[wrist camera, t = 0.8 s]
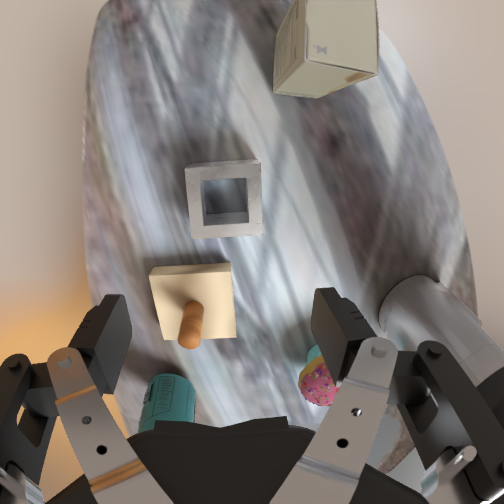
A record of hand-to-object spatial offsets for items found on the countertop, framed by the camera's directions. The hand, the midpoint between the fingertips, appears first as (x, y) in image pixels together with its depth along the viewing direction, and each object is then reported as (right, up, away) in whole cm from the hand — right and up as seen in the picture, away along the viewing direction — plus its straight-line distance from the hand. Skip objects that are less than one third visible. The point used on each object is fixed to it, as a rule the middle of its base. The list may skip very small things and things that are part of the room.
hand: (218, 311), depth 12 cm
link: (-1, +8, +15) cm, 17 cm away
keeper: (-5, -3, +19) cm, 20 cm away
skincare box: (+5, +19, +11) cm, 23 cm away
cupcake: (+11, -11, +24) cm, 28 cm away
